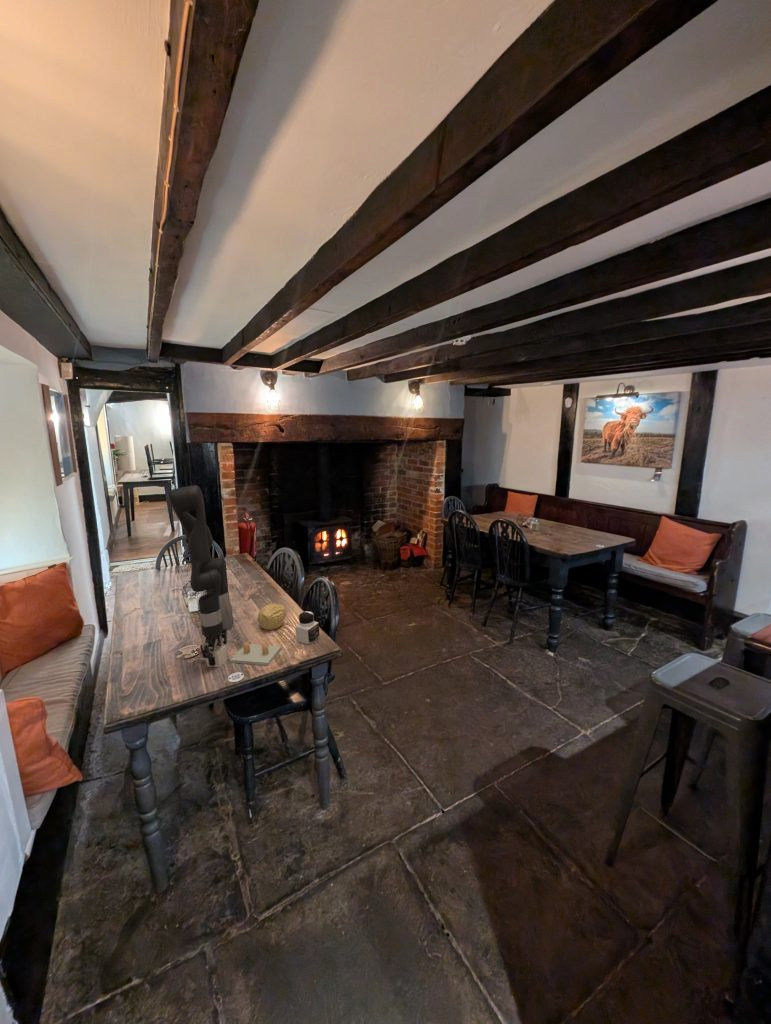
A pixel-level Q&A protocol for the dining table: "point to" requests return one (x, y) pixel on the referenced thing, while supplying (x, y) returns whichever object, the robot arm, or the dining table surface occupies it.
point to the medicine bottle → (307, 628)
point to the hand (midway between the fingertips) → (217, 660)
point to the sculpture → (271, 616)
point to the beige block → (218, 656)
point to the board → (256, 654)
